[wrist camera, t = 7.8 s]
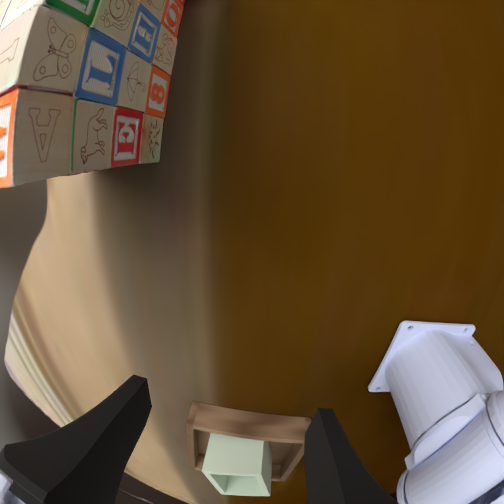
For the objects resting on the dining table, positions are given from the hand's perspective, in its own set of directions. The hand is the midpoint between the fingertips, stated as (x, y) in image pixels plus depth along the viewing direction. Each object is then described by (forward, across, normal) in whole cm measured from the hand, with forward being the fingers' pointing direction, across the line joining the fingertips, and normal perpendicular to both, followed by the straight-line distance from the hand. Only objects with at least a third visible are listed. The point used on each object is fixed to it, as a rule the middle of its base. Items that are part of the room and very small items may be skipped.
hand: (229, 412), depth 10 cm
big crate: (+10, -2, +19) cm, 22 cm away
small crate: (+9, -2, +19) cm, 21 cm away
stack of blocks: (+10, +11, -19) cm, 24 cm away
